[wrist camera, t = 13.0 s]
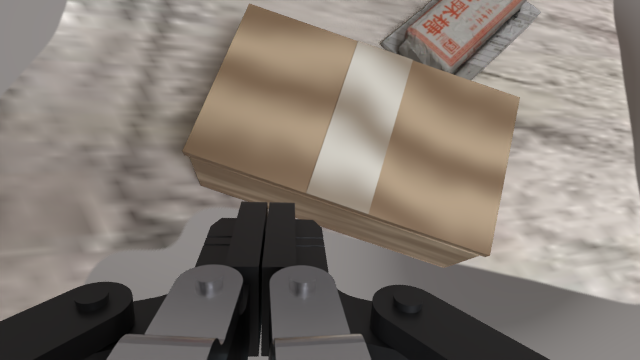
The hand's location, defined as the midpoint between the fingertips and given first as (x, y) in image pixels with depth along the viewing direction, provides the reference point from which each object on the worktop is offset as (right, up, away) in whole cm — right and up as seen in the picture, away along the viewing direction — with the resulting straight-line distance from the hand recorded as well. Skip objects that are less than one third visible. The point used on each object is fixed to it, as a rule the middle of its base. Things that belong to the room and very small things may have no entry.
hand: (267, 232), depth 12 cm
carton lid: (+5, +6, +24) cm, 25 cm away
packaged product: (+18, +18, +39) cm, 46 cm away
